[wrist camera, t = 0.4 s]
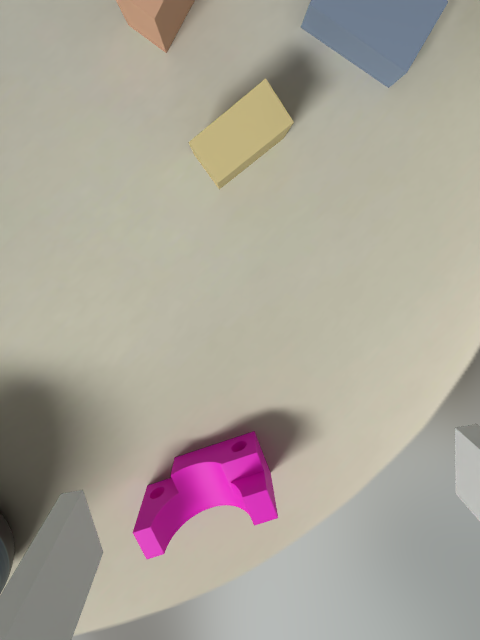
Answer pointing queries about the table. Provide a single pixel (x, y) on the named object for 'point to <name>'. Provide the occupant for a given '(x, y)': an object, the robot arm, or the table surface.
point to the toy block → (206, 490)
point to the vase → (5, 551)
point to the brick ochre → (242, 134)
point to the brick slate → (374, 32)
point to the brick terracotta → (156, 18)
